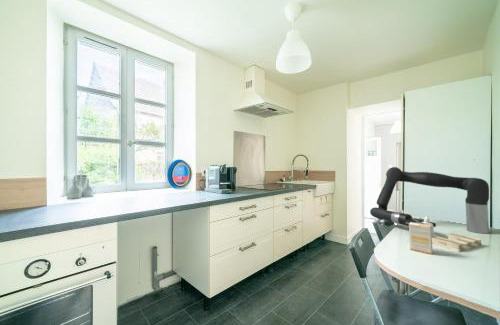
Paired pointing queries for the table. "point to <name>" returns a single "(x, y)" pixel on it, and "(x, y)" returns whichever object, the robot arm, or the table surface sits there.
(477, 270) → the table surface
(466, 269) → the table surface
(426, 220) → the eye dropper bottle
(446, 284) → the table surface
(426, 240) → the supplement box
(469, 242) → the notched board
